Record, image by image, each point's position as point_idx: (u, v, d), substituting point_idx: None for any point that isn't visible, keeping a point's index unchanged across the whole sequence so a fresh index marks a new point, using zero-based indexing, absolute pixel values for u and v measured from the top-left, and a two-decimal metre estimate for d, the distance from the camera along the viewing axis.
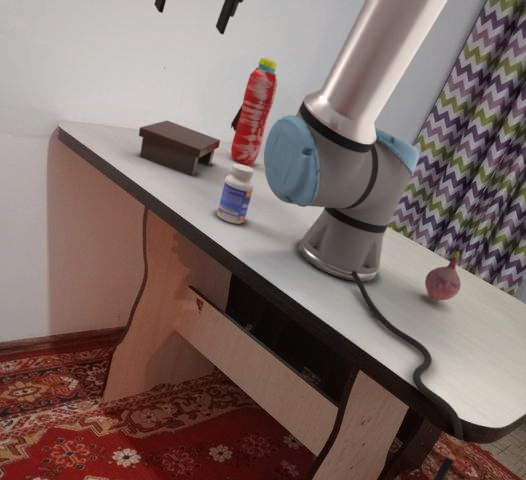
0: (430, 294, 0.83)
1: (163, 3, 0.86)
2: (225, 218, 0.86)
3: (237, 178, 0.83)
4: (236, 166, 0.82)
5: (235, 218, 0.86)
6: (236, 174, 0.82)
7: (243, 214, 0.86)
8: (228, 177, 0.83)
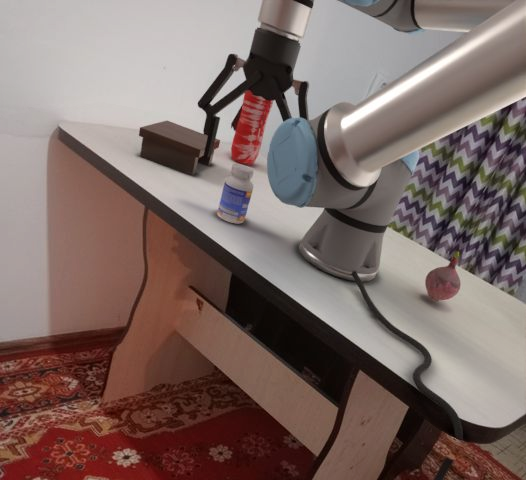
0: (430, 294, 0.83)
1: (207, 147, 0.81)
2: (225, 218, 0.86)
3: (237, 178, 0.83)
4: (236, 166, 0.82)
5: (235, 218, 0.86)
6: (236, 174, 0.82)
7: (243, 214, 0.86)
8: (228, 177, 0.83)
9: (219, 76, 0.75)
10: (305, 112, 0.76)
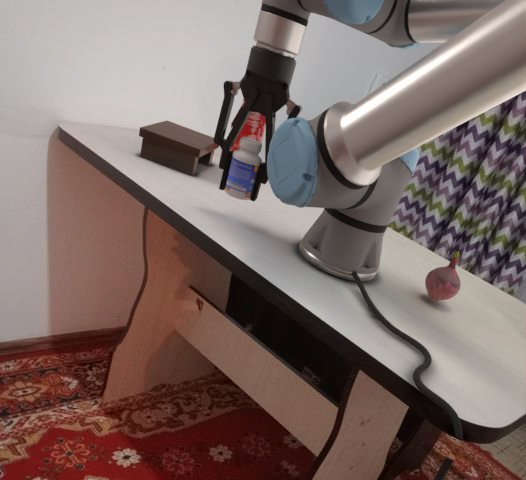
0: (430, 294, 0.83)
1: (223, 181, 0.83)
2: (233, 194, 0.83)
3: (245, 152, 0.80)
4: (244, 139, 0.80)
5: (243, 194, 0.83)
6: (244, 147, 0.79)
7: (251, 190, 0.84)
8: (236, 151, 0.81)
9: (223, 107, 0.77)
10: None
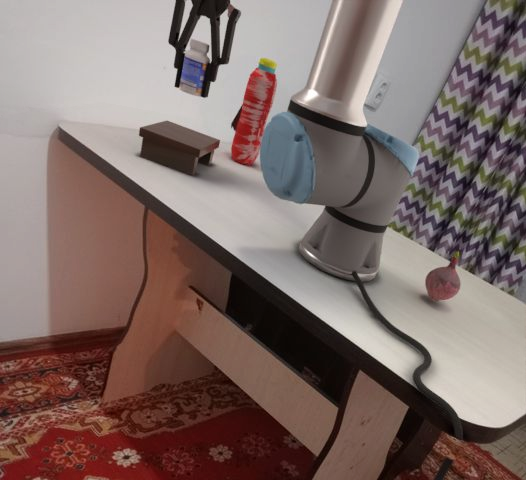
0: (430, 294, 0.83)
1: (177, 79, 0.99)
2: (186, 90, 0.98)
3: (195, 50, 0.95)
4: (193, 40, 0.95)
5: (194, 90, 0.98)
6: (193, 46, 0.95)
7: (201, 87, 0.99)
8: (187, 51, 0.96)
9: (175, 11, 0.93)
10: (230, 34, 0.93)
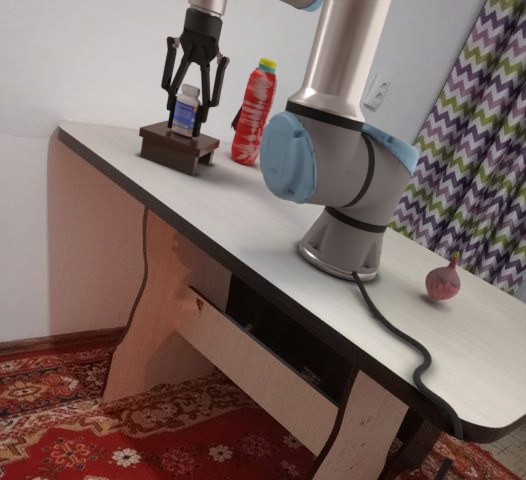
0: (430, 294, 0.83)
1: (170, 120, 1.04)
2: (178, 131, 1.03)
3: (186, 95, 1.00)
4: (185, 85, 1.00)
5: (186, 131, 1.03)
6: (185, 91, 1.00)
7: (193, 128, 1.04)
8: (179, 95, 1.01)
9: (167, 58, 0.98)
10: (219, 80, 0.98)
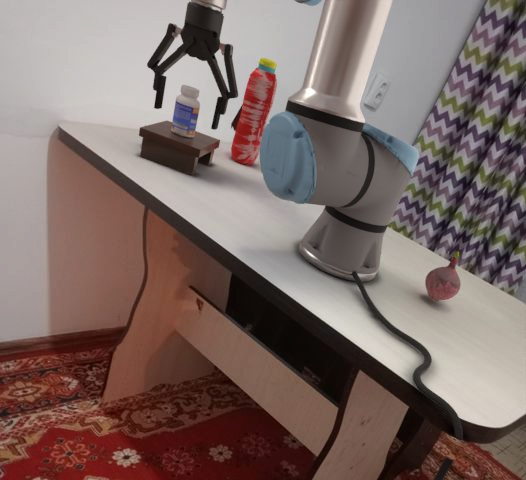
0: (430, 294, 0.83)
1: (157, 100, 1.02)
2: (177, 132, 1.03)
3: (185, 96, 1.00)
4: (184, 86, 1.00)
5: (185, 132, 1.03)
6: (184, 92, 1.00)
7: (192, 129, 1.04)
8: (178, 96, 1.01)
9: (162, 42, 0.96)
10: (230, 69, 0.96)
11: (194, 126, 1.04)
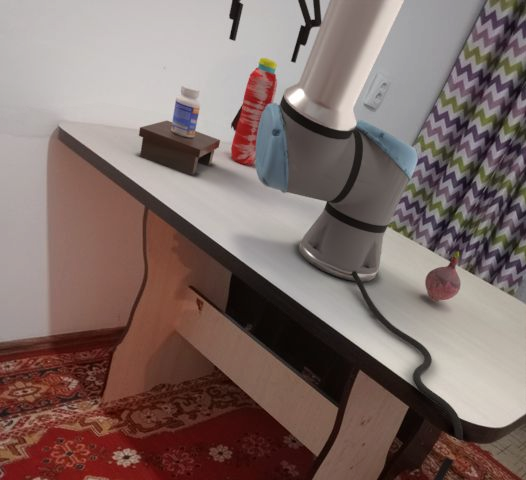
0: (430, 294, 0.83)
1: (233, 30, 0.95)
2: (177, 132, 1.03)
3: (185, 96, 1.00)
4: (184, 86, 1.00)
5: (185, 132, 1.03)
6: (184, 92, 1.00)
7: (192, 129, 1.04)
8: (178, 96, 1.01)
9: None
10: None
11: (194, 126, 1.04)
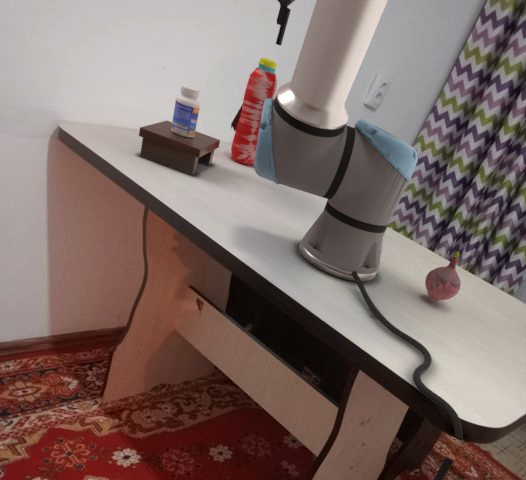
0: (430, 294, 0.83)
1: (280, 35, 0.96)
2: (177, 132, 1.03)
3: (185, 96, 1.00)
4: (184, 86, 1.00)
5: (185, 132, 1.03)
6: (184, 92, 1.00)
7: (192, 129, 1.04)
8: (178, 96, 1.01)
9: None
10: None
11: (194, 126, 1.04)
